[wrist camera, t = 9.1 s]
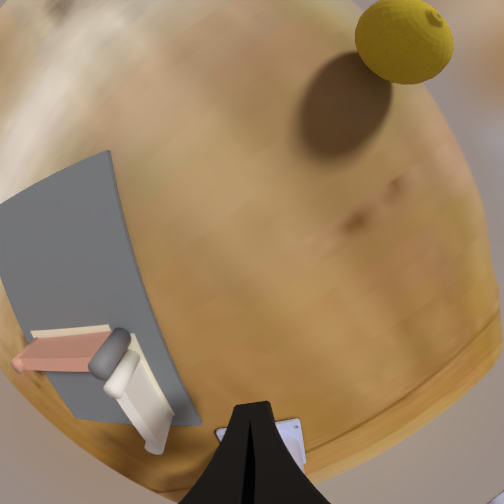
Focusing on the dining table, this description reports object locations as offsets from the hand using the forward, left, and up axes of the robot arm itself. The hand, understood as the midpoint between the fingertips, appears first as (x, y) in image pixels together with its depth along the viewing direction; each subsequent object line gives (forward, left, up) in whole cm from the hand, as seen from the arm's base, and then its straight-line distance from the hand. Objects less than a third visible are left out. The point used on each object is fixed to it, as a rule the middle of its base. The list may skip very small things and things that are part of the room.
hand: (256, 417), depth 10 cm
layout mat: (+1, +15, -9) cm, 18 cm away
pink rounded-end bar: (0, +15, -9) cm, 17 cm away
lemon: (+16, -12, -10) cm, 22 cm away
